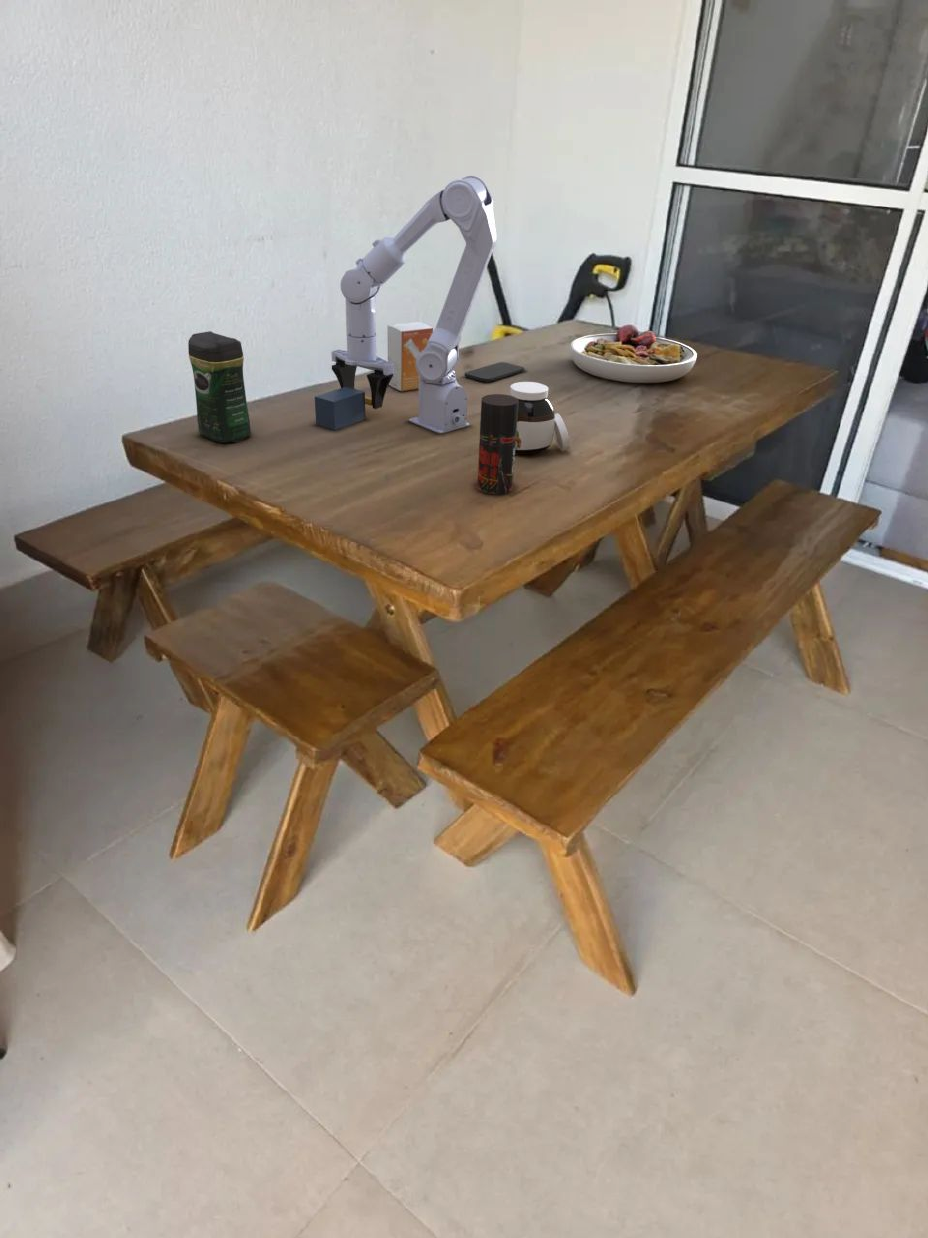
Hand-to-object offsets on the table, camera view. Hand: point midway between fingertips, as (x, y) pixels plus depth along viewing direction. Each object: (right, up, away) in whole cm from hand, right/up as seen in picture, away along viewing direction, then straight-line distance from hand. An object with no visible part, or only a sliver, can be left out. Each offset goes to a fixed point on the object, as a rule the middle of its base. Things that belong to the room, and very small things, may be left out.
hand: (363, 403), depth 171 cm
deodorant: (+25, -21, -28) cm, 43 cm away
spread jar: (+34, -12, -12) cm, 37 cm away
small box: (+8, +8, +19) cm, 22 cm away
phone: (+28, +14, +29) cm, 42 cm away
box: (-3, -4, -3) cm, 6 cm away
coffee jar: (-24, -9, -12) cm, 29 cm away
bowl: (+61, +18, +37) cm, 73 cm away
